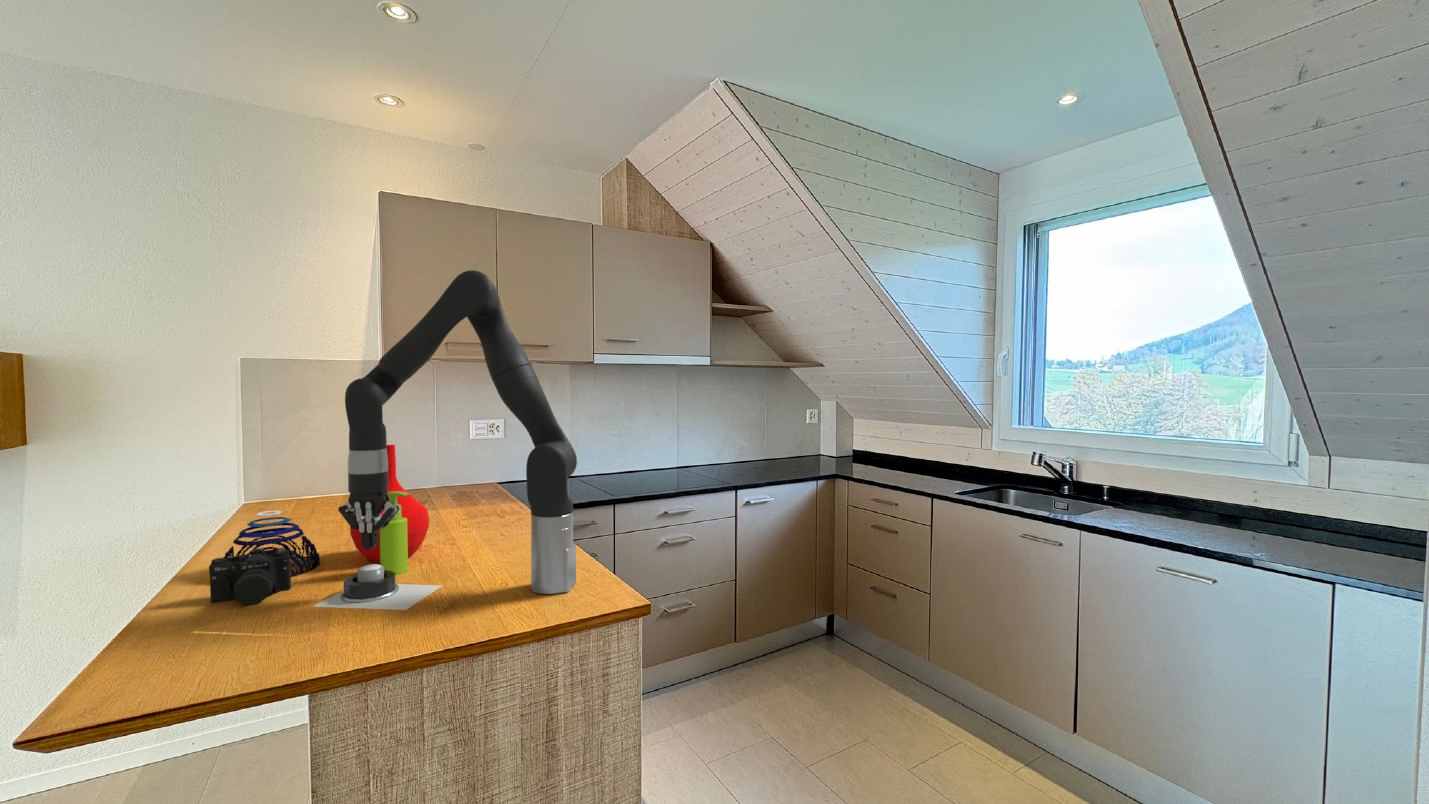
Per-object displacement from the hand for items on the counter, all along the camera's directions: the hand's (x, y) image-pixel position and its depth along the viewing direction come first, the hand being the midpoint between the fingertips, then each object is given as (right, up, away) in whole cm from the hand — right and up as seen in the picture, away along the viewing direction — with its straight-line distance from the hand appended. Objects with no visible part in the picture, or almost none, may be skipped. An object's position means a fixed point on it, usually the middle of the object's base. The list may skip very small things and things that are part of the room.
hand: (369, 548), depth 128 cm
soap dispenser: (-2, -10, +14) cm, 18 cm away
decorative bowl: (-34, -10, +16) cm, 39 cm away
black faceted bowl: (0, -10, 0) cm, 10 cm away
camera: (-24, -11, -3) cm, 26 cm away
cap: (0, -9, 0) cm, 9 cm away
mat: (+3, -10, -1) cm, 11 cm away
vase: (-10, -9, +27) cm, 30 cm away
